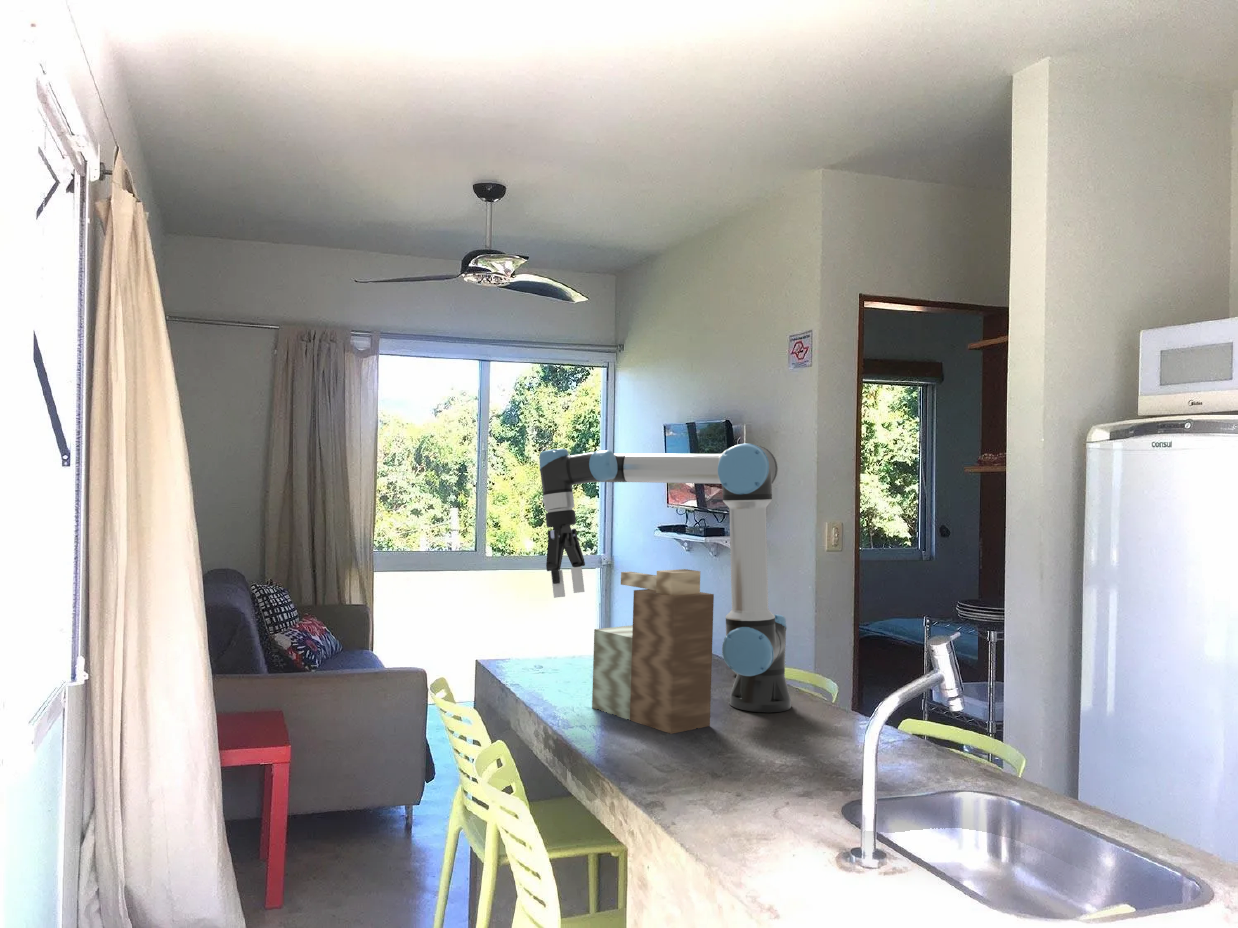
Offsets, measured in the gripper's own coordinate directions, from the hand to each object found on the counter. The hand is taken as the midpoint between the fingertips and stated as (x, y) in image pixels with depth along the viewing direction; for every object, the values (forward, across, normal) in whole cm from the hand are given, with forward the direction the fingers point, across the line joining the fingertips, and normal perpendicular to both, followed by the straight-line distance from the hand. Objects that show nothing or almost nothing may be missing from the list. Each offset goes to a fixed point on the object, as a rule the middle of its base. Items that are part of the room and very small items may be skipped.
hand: (569, 594), depth 251 cm
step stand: (+30, +8, +20) cm, 37 cm away
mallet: (0, +9, +25) cm, 27 cm away
